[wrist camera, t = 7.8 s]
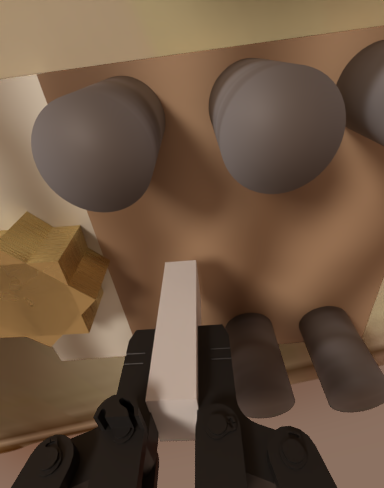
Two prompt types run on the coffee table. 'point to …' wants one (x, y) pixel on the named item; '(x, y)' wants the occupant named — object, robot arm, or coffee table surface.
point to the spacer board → (220, 198)
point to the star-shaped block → (48, 281)
